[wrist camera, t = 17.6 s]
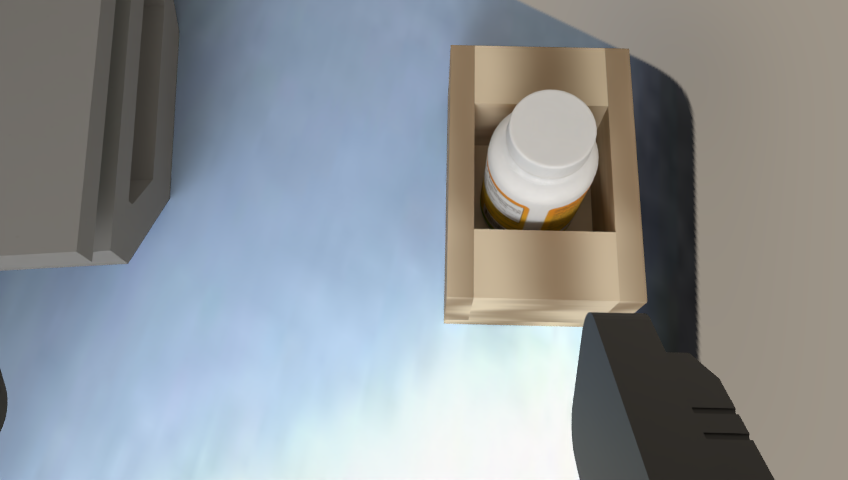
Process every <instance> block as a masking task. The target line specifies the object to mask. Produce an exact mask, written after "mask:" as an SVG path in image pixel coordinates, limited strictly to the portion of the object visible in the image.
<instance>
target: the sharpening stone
mask: <svg viewBox="0 0 848 480" xmlns="http://www.w3.org/2000/svg"><path fill="white" fill-rule="evenodd" d="M178 47H179V28H178V22H177V16H176V11H175V5H174V0H0V271H2V270H21V269H39V268H58V267H76V266H94V265H113V264H128V263H129V261H130V260H131V258H132V257H133V255H134V253H135V252H136V250H137V249H138V247H139V246H140V244H141V243H142V241H143V239H144V238H145V236H146V235H147V233H148V232H149V230H150V229H151V227H152V225H153V224H154V222H155V221H156V219H157V218H158V216H159V215H160V213H161V211H162V210H163V208H164V207H165V205H166V204H167V202H168V201H169V199H170V186H171V168H172V151H173V134H174V116H175V99H176V82H177V64H178Z"/></svg>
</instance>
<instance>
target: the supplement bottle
mask: <svg viewBox="0 0 848 480" xmlns="http://www.w3.org/2000/svg"><path fill="white" fill-rule="evenodd" d="M596 136H597V127H596V121H595V118H594V116H593V114H592V112H591V110H590V109H589V107H588V106H587V105H586V104H585V103H584V102H583V101H582V100H580V99H579V98H578V97H576V96H574V95H572V94H570V93H567V92H565V91H560V90H552V89H551V90H541V91H537V92H534V93H532V94H530V95H528V96H526V97H525V98H523V99H522V100H521V101H520V102H519V103H518V104H517V105H516V107H515V108H514V109H513V111H512V113H510V114H509V115H508V116H506V117H505V118H504V119H503V120H502V121H501V122H500V123H499V125H498V126H497V127H496V129H495V131H494V133H493V135H492V137H491V140H490V144H489V147H488V152H487V160H486V166H485V171H484V177H483V183H482V188H481V195H480V209H481V213H482V216H483V219H484V221H485V223H486V225H487V226H488V228H489V229H499V230H542V231H565V230H566V229H567V228H568V226H569V225H570V223H571V221H572V219H573V217H574V216H575V214H576V212H577V210H578V208H579V206H580V204H581V202H582V201H583V199H584V197H585V195H586V193H587V191H588V189H589V188H590V186H591V184H592V182H593V180H594V177H595V175H596V171H597V168H598V159H599V155H598V148H597V144H596Z"/></svg>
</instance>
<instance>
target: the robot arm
mask: <svg viewBox="0 0 848 480" xmlns="http://www.w3.org/2000/svg"><path fill="white" fill-rule="evenodd" d="M6 412H7V391H6V387H5V384H4V380H3V377H2V373H1V370H0V431H1V429H2V427H3V424H4V421H5V417H6ZM572 442H573V450H574V456H575V461H576V465H577V470H578V474H579V478H580V480H774V478H773V476H772V474H771V472H770V471H769V469H768V467H767V465H766V463H765V461H764V460H763V458H762V456H761V454H760V452H759V450H758V449H757V447H756V445H755V443H754V441H753V440H750V439H749V432H748V430H747V429H746V427H745V425H744V423H743V422H742V419H741V418H740V416H739V415H738V414H736V413H735V407H734V405H733V403H732V401H731V400H730V398H729V396H728V394H727V392H726V390H725V389H724V387H723V385H722V383H721V381H720V379H719V378H718V377H717V376H715V375H714V374H713V373H712V372H711V371H709V370H708V369H707V368H706V367H704V366H703V365H702V364H701V363H700V362H699V361H698V360H697V359H695V358H694V357H693V356H692V355H691V354H689V353H666V352H665V350H664V347H663V345H662V343H661V341H660V339H659V337H658V335H657V332H656V330H655V328H654V326H653V324H652V322H651V320H650V318H649V316H648V315H647V314H645V313H606V312H588V313H587V315H586V317H585V320H584V324H583V330H582V338H581V345H580V353H579V360H578V368H577V376H576V383H575V391H574V398H573V407H572Z"/></svg>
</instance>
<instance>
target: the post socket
mask: <svg viewBox="0 0 848 480" xmlns="http://www.w3.org/2000/svg"><path fill="white" fill-rule="evenodd" d="M551 89H552V90H560V91H565V92H567V93H570V94H572V95H574V96H576V97H578V98H579V99H580V100H582V101H583V102H584V103H585V104H586V105H587V106H588V107H589V109H590V110H591V112H592V114H593V116H594V118H595V121H596V127H597V136H596V144H597V148H598V155H599V159H598V168H597V171H596V175H595V177H594V180H593V182H592V184H591V186H590V188H589V189H588V191H587V193H586V195H585V197H584V199H583V201H582V202H581V204H580V206H579V208H578V210H577V212H576V214H575V216H574V217H573V219H572V221H571V223H570V225H569V226H568V228H567V229H566V230H565V231H542V230H499V229H489V228H488V226H487V225H486V223H485V221H484V219H483V216H482V213H481V209H480V195H481V188H482V183H483V177H484V171H485V166H486V160H487V152H488V147H489V144H490V140H491V137H492V135H493V133H494V131H495V129H496V127H497V126H498V125H499V123H500V122H501V121H502V120H503V119H504V118H505V117H506V116H508V115H509V114H510V113H512V111H513V109H514V108H515V107H516V105H517V104H518V103H519V102H520V101H521V100H522V99H523V98H525V97H526V96H528V95H530V94H532V93H534V92H537V91H541V90H551ZM646 302H647V293H646V279H645V265H644V251H643V237H642V223H641V209H640V195H639V181H638V167H637V154H636V140H635V126H634V112H633V98H632V84H631V70H630V56H629V49H616V48H567V47H517V46H467V45H451V51H450V70H449V88H448V121H447V178H446V234H445V291H444V323H446V324H487V325H527V326H568V327H583V324H584V320H585V317H586V315H587V313H588V312H606V313H635V312H636V311H637V310H638V309H639V308H641V307H642V306H643V305H644V304H645V303H646Z"/></svg>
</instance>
